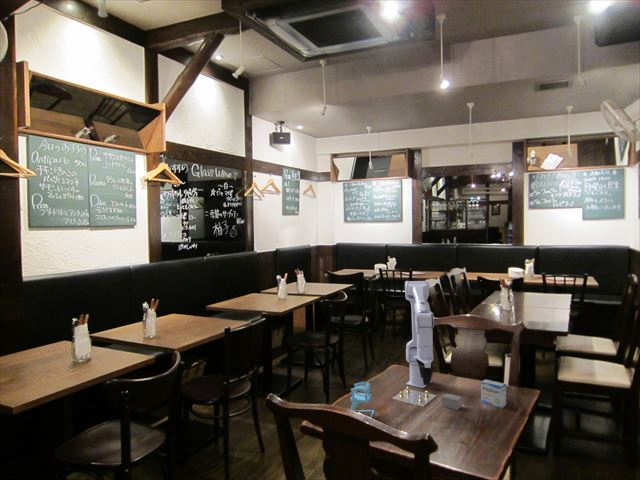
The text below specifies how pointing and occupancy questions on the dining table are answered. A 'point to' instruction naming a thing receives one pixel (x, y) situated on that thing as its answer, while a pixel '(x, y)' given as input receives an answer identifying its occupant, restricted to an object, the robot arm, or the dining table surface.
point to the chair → (361, 396)
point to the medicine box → (493, 393)
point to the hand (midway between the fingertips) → (425, 381)
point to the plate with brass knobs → (414, 397)
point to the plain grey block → (452, 401)
